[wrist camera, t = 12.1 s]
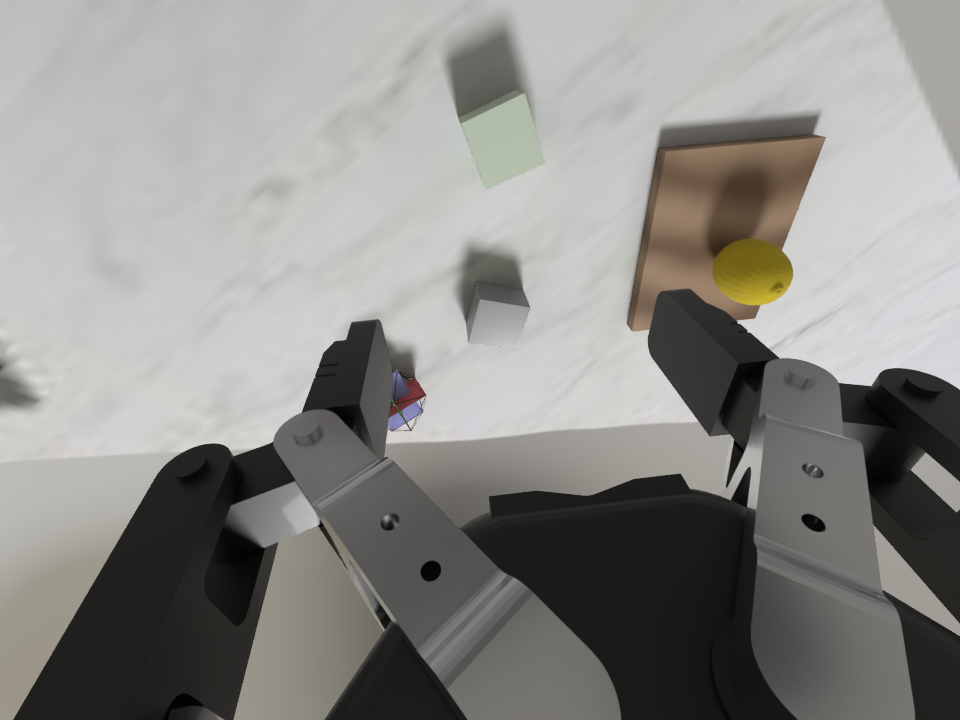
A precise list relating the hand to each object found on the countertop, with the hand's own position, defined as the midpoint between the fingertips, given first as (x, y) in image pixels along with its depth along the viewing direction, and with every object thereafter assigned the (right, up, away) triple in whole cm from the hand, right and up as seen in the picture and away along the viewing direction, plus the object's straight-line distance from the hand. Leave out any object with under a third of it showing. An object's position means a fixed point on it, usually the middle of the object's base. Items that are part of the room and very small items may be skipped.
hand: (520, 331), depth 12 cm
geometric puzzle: (-11, -4, +37) cm, 38 cm away
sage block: (0, +18, +22) cm, 28 cm away
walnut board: (+22, +11, +29) cm, 38 cm away
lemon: (+23, +10, +29) cm, 38 cm away
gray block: (0, +5, +32) cm, 32 cm away
